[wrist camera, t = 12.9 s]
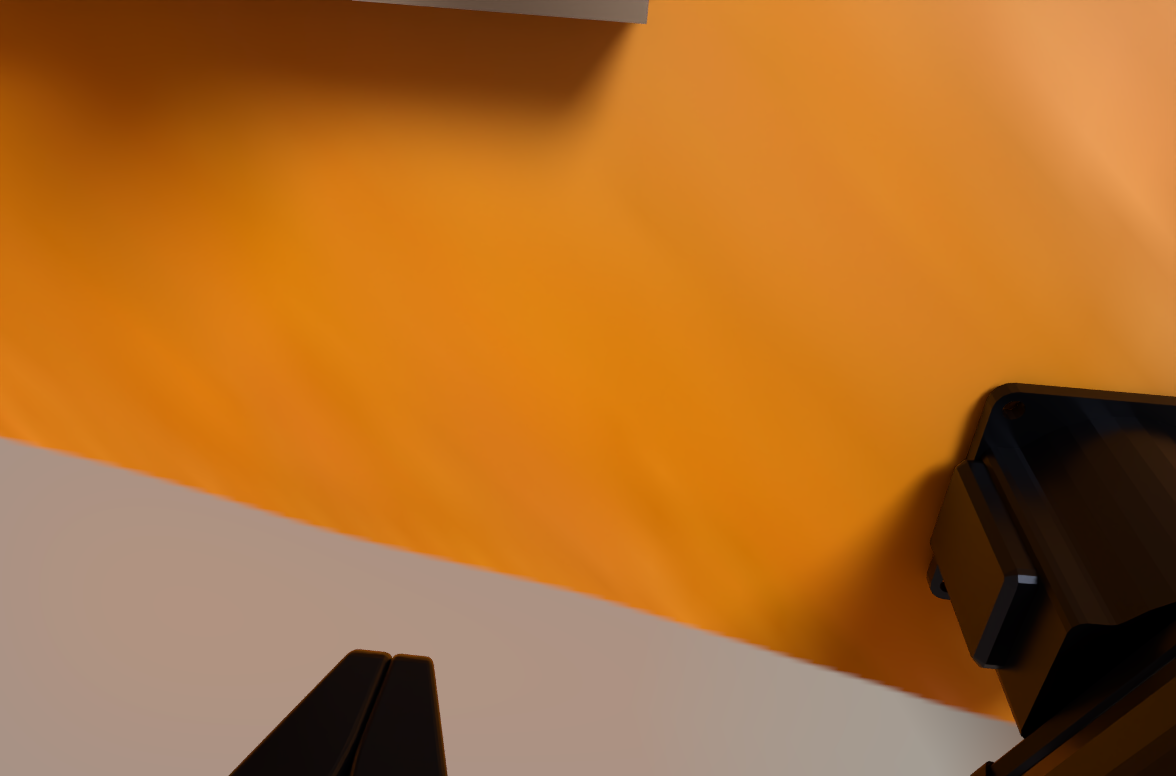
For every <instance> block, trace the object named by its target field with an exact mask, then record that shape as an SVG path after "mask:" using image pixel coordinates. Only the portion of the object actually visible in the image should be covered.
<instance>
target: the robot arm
mask: <svg viewBox="0 0 1176 776" xmlns="http://www.w3.org/2000/svg"><path fill="white" fill-rule="evenodd" d="M1013 401H1019V403H1018V405H1017V406H1016V407H1015V408H1013V409H1011V410H1003V408H1004V406H1005V405H1006V404H1008V403H1010V402H1013ZM930 544H931V547H932V550H933V553H934V554H933V557H932V560H931V563H930V566H929V569H928V572H927V581H928V584H929V587H930V589H931V591H932V593H933V594H934V595H935V596H937V597H938V598H942V599H948V600H951V603H952V605H953V608H954V611H955V614H956V616H957V619H958V622H959V625H960V627H961V630H962V633H963V636H964V638H965V641H966V644H967V647H968V650H969V652H970V655H971V657H972V658H973V660H974V661H975V662H976V663H977V664H978V666H979V667H981V668H991V669H996V672H997V675H998V677H999V680H1000V682H1001V685H1002V688H1003V690H1004V693H1005V695H1006V698H1007V701H1008V703H1009V706H1010V708H1011V711H1012V714H1013V716H1014V719H1015V721H1016V724H1017V727H1018V729H1019V732H1020V734H1021V736H1022V737H1023V738H1024V740H1022V741H1021V742H1020V743H1019V744H1017V745H1016V746H1015V747H1013V748H1012V749H1011V750H1010V751H1008V752H1007V753H1006V754H1005V755H1003V756H1002V757H1001V758H1000V759H998V760H997V761H996V762H995V763H994V762H991V761H988V762H986V763H985V764H984V765H982V766H981V767H980V768H979V769H977V770H976V771H975V772H974V773H972V774H971V775H970V776H1176V397H1172V396H1160V395H1149V394H1137V393H1126V392H1114V391H1103V390H1091V389H1080V388H1068V387H1057V386H1045V385H1034V384H1022V383H1007V384H1004V385H1001V386H999V387H997V388H996V389H994V390H993V391H992V392H991V393H990V395H989V396H988V398H987V400H986V403H985V406H984V409H983V412H982V415H981V418H980V421H979V423H978V426H977V429H976V432H975V435H974V438H973V441H972V444H971V447H970V450H969V453H968V455H967V458H966V460H963V461H962V462H961V463H960V464H959V465H957V466H956V467H955V469H954V472H953V475H952V478H951V481H950V483H949V486H948V489H947V492H946V495H945V498H944V501H943V504H942V507H941V510H940V513H939V516H938V519H937V522H936V525H935V528H934V531H933V534H932V537H931V540H930ZM943 580H944V582H942V581H943ZM229 776H447V767H446V759H445V751H444V743H443V735H442V727H441V719H440V712H439V703H438V695H437V687H436V679H435V671H434V664H433V661H432V659H431V658H429V657H426V656H417V655H408V654H397V655H395V656H394V657H393V658H392V656H391V655H390V654H389V653H386V652H380V651H370V650H362V649H356V650H353V651H351V652H349V653H348V654H347V655H346V656H345V657H344V658H343V659H342V660H341V661H340V662H339V663H338V664H337V665H336V666H335V667H334V668H333V669H332V670H331V671H330V672H329V673H328V674H327V675H326V676H325V677H324V678H323V679H322V680H321V682H319V684H318V685H317V686H316V687H315V688H314V689H313V690H312V691H311V692H310V693H309V694H308V695H307V696H306V697H305V698H304V699H303V700H302V701H301V702H300V703H299V704H298V705H297V706H296V707H295V708H294V709H293V710H292V711H291V712H290V713H289V714H288V715H287V717H285V718H284V719H283V720H282V721H281V722H280V724H278V726H277V727H276V728H275V729H274V730H273V731H272V732H271V733H270V734H269V735H268V736H267V737H266V738H265V739H264V740H263V741H262V742H261V743H260V744H259V745H258V746H257V747H256V748H255V749H254V750H253V751H252V752H251V753H250V754H249V755H248V756H247V757H246V758H245V759H244V760H243V761H242V762H241V764H240V765H238V767H237V768H236V769H235V770H234V771H233V772H232V773H231V774H230V775H229Z"/></svg>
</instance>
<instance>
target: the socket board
mask: <svg viewBox="0 0 1176 776" xmlns="http://www.w3.org/2000/svg"><path fill="white" fill-rule="evenodd" d="M354 1H366V2H379V3H391V4H404V5H416V6H429V7H441V8H454V9H466V10H478V11H491V12H503V13H516V14H528V15H541V16H553V17H566V18H578V19H591V20H603V21H616V22H628V23H641V24H647V13H648V2H649V0H354Z"/></svg>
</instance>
